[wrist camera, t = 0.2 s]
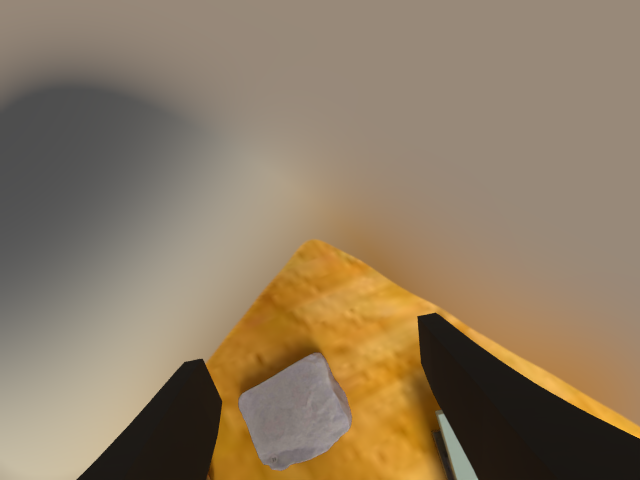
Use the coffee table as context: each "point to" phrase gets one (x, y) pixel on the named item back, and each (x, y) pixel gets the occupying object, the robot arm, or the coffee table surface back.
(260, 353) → the coffee table surface
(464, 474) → the plate
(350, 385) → the coffee table surface
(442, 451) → the tribrach base
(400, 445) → the coffee table surface
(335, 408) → the stone block
